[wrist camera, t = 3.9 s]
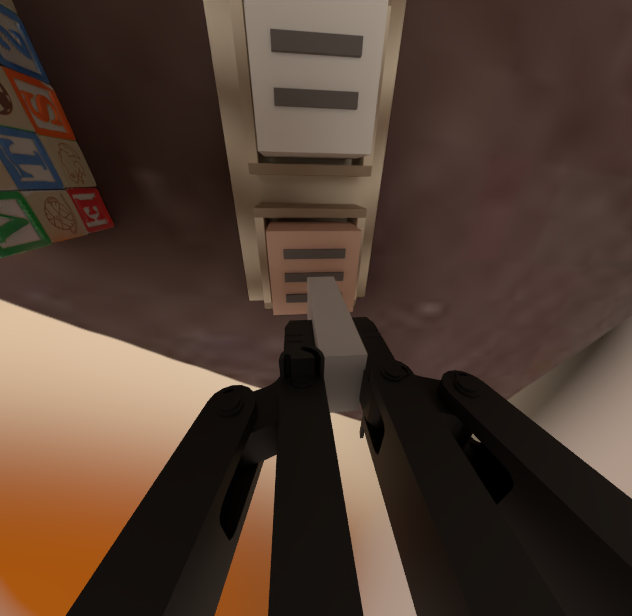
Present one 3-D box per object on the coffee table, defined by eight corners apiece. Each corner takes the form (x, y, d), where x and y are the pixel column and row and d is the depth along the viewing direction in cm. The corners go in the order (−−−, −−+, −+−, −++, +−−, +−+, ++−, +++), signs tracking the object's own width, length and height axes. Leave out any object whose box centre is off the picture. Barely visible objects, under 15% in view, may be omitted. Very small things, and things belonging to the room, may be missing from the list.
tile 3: (270, 221, 16) (265, 231, 13) (349, 221, 17) (363, 231, 14) (276, 294, 20) (273, 316, 16) (343, 291, 20) (353, 313, 17)
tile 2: (253, 16, 11) (238, -46, 8) (366, 25, 12) (393, -30, 9) (264, 156, 14) (257, 150, 11) (354, 159, 15) (371, 154, 12)
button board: (152, -388, 9) (17, -936, 4) (439, -321, 10) (555, -708, 6) (251, 293, 24) (243, 319, 20) (360, 290, 25) (375, 314, 21)
